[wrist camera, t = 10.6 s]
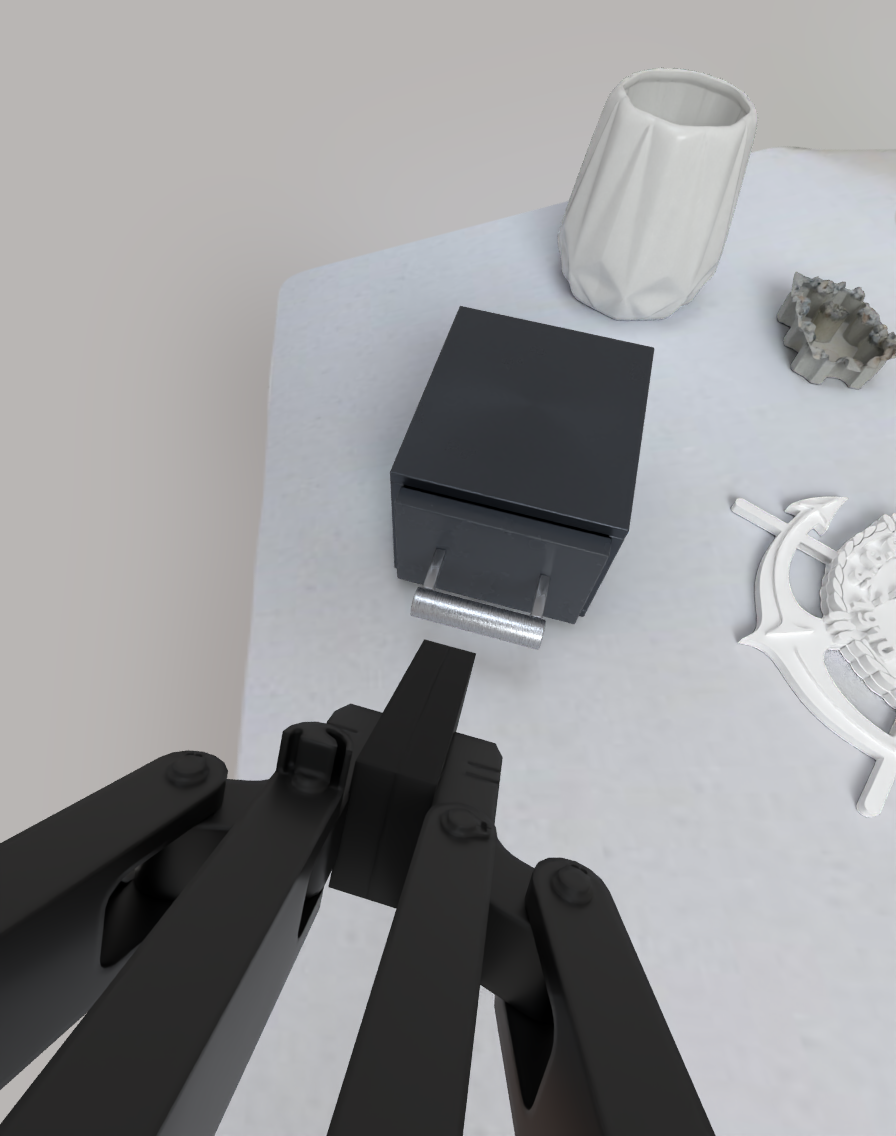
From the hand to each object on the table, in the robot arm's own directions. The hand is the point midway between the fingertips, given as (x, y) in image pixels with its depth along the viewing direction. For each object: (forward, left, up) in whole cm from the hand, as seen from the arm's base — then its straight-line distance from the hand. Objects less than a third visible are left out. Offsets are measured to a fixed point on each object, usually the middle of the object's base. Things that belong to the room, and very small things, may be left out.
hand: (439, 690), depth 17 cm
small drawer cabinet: (-19, +9, -18) cm, 28 cm away
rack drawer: (-16, +7, -17) cm, 24 cm away
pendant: (-6, +35, -18) cm, 40 cm away
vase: (-43, +25, -18) cm, 53 cm away
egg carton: (-33, +40, -18) cm, 55 cm away
